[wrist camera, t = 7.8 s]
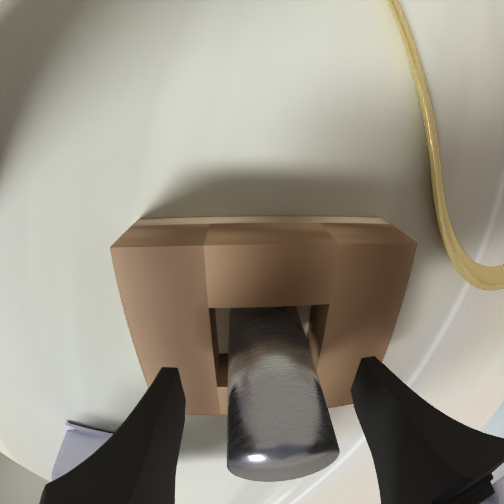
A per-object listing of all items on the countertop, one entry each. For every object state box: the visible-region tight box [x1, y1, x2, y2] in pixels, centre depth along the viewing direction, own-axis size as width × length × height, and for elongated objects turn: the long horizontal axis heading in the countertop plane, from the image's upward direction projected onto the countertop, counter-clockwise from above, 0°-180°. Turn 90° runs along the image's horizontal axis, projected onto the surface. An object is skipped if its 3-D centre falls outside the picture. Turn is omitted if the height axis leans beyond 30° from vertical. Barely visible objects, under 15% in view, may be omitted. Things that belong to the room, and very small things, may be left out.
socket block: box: [110, 216, 417, 415], centre depth 14 cm, size 12×10×4 cm
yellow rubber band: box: [387, 0, 504, 290], centre depth 9 cm, size 19×35×2 cm, turn 15°
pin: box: [227, 306, 340, 482], centre depth 11 cm, size 4×4×8 cm
